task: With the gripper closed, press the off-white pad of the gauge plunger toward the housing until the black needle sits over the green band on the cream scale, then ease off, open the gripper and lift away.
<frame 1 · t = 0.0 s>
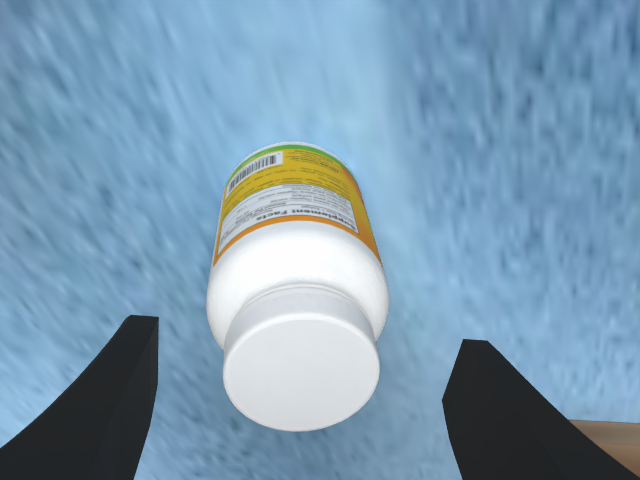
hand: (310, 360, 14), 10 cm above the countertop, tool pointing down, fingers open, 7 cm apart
supplement bottle: (291, 200, 23), on the countertop
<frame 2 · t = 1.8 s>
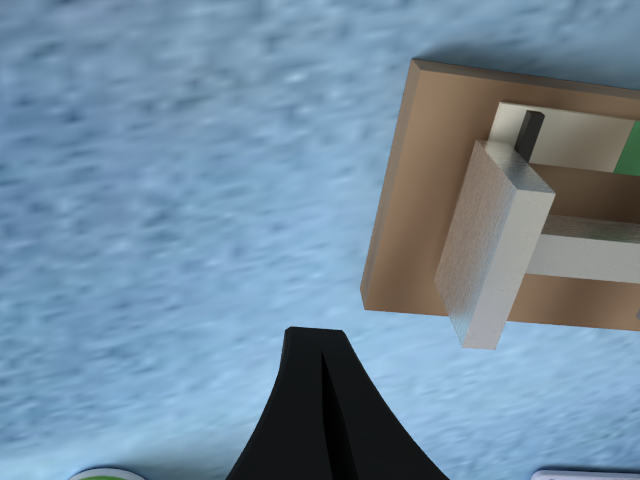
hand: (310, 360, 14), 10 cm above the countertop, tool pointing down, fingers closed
gauge plunger: (604, 239, 21), point 4 cm above the countertop, slide at 0.0 cm
gauge housing: (570, 206, 24), on the countertop
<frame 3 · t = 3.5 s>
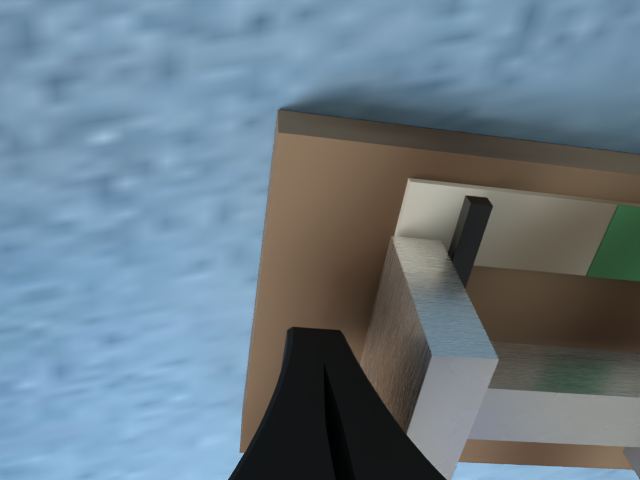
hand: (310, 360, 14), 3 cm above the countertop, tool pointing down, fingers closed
gauge plunger: (587, 387, 13), point 4 cm above the countertop, slide at 0.4 cm, touching gripper
gauge housing: (529, 307, 17), on the countertop
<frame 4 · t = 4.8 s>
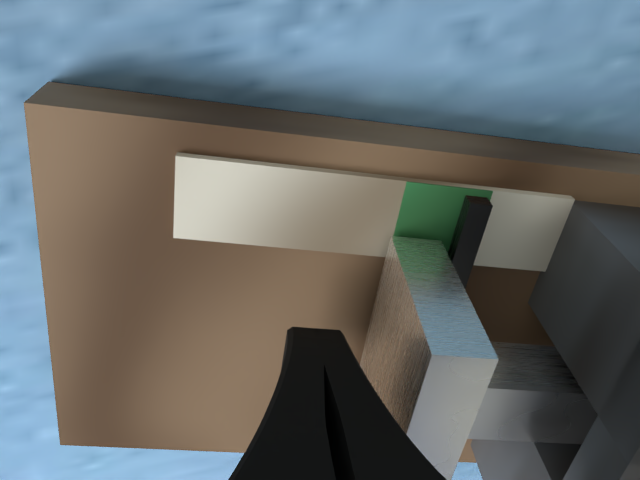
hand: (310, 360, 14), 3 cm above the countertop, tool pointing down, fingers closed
gauge plunger: (587, 386, 13), point 4 cm above the countertop, slide at 5.5 cm, touching gripper
gauge housing: (360, 293, 17), on the countertop
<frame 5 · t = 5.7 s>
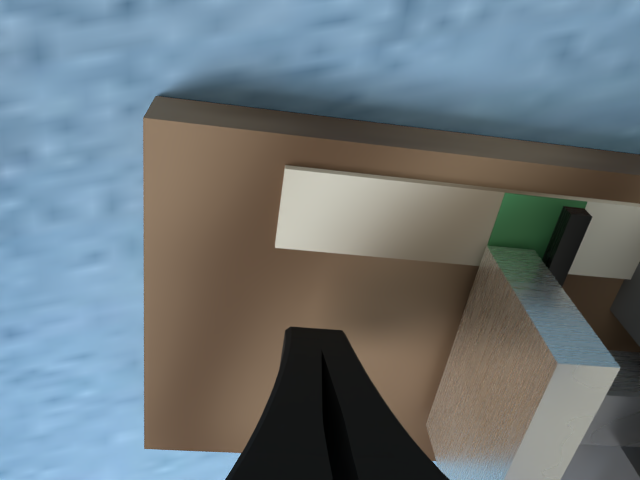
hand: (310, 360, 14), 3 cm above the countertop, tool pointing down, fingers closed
gauge housing: (439, 300, 17), on the countertop
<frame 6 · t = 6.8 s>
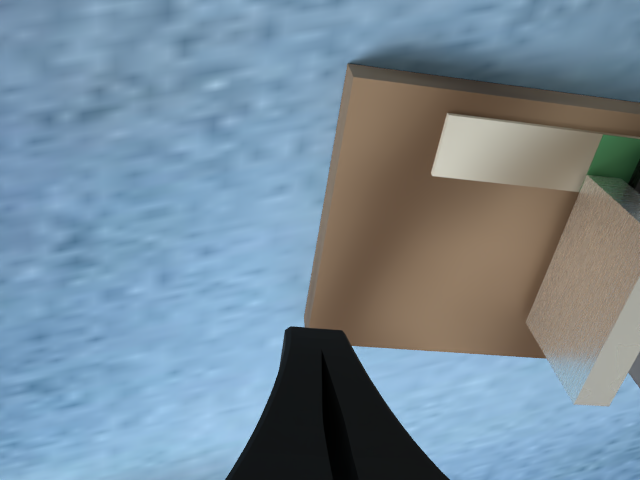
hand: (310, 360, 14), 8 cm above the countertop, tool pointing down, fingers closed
gauge housing: (535, 226, 22), on the countertop
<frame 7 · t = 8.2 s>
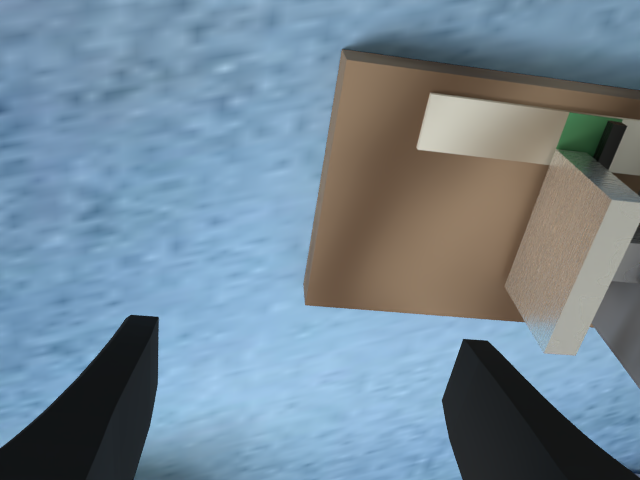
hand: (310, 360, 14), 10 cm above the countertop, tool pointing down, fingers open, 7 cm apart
gauge housing: (513, 200, 24), on the countertop
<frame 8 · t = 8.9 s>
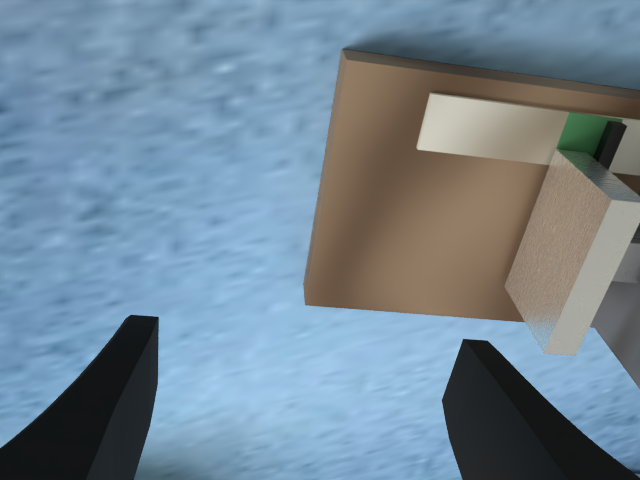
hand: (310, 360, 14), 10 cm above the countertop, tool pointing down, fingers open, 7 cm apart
gauge housing: (513, 200, 24), on the countertop
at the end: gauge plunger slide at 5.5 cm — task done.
